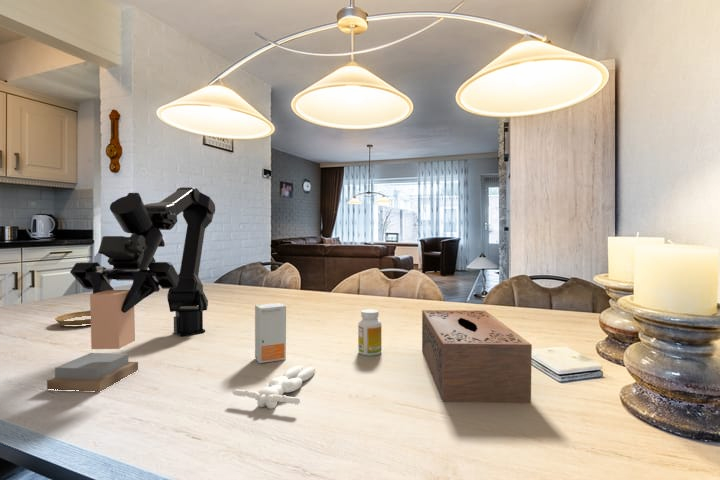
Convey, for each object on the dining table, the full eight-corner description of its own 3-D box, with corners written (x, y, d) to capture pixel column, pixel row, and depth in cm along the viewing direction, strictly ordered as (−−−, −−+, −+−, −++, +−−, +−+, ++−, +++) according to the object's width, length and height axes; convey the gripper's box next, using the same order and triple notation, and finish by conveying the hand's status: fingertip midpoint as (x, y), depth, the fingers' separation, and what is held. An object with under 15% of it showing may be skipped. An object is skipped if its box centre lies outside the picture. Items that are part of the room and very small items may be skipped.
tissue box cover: (422, 352, 88) (422, 310, 87) (484, 353, 87) (484, 310, 87) (442, 403, 62) (442, 343, 62) (530, 404, 61) (531, 344, 61)
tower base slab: (92, 372, 76) (91, 360, 76) (138, 374, 76) (137, 361, 76) (47, 394, 67) (46, 380, 66) (99, 396, 66) (99, 381, 66)
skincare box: (259, 364, 79) (258, 308, 79) (254, 358, 83) (254, 304, 83) (287, 360, 82) (286, 305, 82) (281, 354, 86) (281, 302, 85)
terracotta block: (109, 340, 73) (107, 290, 73) (135, 340, 73) (133, 289, 73) (91, 349, 68) (90, 294, 68) (119, 348, 68) (117, 294, 68)
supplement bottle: (384, 350, 88) (384, 309, 88) (376, 357, 83) (376, 314, 83) (364, 347, 91) (364, 307, 90) (354, 354, 86) (354, 312, 85)
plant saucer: (41, 328, 109) (41, 319, 109) (86, 316, 124) (85, 309, 124) (85, 330, 107) (85, 321, 107) (125, 318, 122) (125, 310, 122)
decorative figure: (281, 360, 77) (227, 385, 60) (336, 366, 74) (296, 394, 57) (280, 378, 77) (226, 407, 60) (335, 384, 74) (294, 418, 57)
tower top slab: (91, 362, 75) (90, 352, 75) (128, 363, 74) (128, 353, 74) (55, 378, 67) (55, 367, 67) (96, 379, 66) (96, 368, 66)
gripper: (75, 221, 74) (29, 286, 63) (171, 221, 74) (141, 285, 63) (103, 258, 82) (66, 320, 71) (189, 257, 82) (165, 320, 72)
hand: (108, 311), depth 69 cm, fingers closed on terracotta block, 5 cm apart
